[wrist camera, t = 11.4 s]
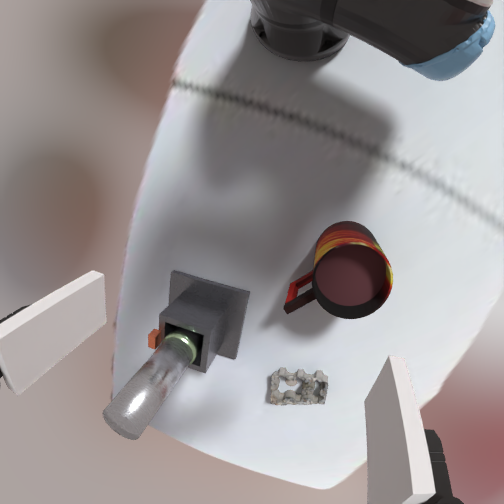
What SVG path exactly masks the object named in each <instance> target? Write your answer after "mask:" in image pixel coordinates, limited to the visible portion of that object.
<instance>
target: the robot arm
mask: <svg viewBox="0 0 504 504" xmlns="http://www.w3.org/2000/svg"><path fill="white" fill-rule="evenodd" d="M250 1H251V3H252V9H251V24H252V28H253V30H254V32H255V34H256V36H257V37H258V39H259V41H260V42H261V43H262V44H263V45H264V46H265V47H266V48H267V49H268V50H269V51H271V52H272V53H274V54H276V55H278V56H280V57H283V58H286V59H290V60H295V61H313V60H319V59H322V58H325V57H328V56H330V55H332V54H334V53H335V52H337V51H338V50H339V49H340V48H342V47H343V45H344V44H345V43H346V41H347V40H348V38H349V36H350V35H351V36H353V37H356V38H358V39H360V40H362V41H364V42H366V43H367V44H369V45H371V46H373V47H375V48H377V49H379V50H381V51H382V52H384V53H386V54H388V55H390V56H391V57H393V58H395V59H396V60H398V61H399V63H400V64H402V65H403V66H405V67H408V68H412V69H413V70H415V71H417V72H418V73H420V74H422V75H423V76H425V77H427V78H429V79H432V80H437V81H444V80H448V79H451V78H453V77H455V76H457V75H459V74H460V73H462V72H463V71H464V70H466V69H467V68H468V67H469V66H470V65H471V64H472V63H473V62H474V61H475V60H476V59H477V58H478V57H479V56H480V55H481V53H482V52H483V50H482V49H483V47H484V46H485V45H487V44H488V43H489V41H490V39H491V38H492V35H493V33H494V29H495V21H494V17H493V16H492V15H491V13H490V11H489V10H488V9H489V8H490V6H491V5H492V4H493V0H250ZM104 281H105V280H104V274H102V273H99V272H96V271H94V270H92V271H90V272H89V273H87V274H85V275H83V276H81V277H79V278H78V279H76V280H74V281H72V282H70V283H69V284H67V285H65V286H63V287H62V288H60V289H58V290H56V291H54V292H53V293H51V294H49V295H48V296H46V297H44V298H42V299H41V300H39V301H37V302H35V303H34V304H31V305H28V306H24V307H21V308H20V309H18V310H16V311H15V312H13V314H10V315H8V316H7V317H6V318H3V319H2V320H0V378H1V377H2V376H3V378H4V380H5V382H6V385H7V387H8V388H9V389H11V390H12V391H13V392H14V393H15V394H16V395H17V396H18V395H20V394H21V393H22V392H23V391H24V390H25V389H27V388H28V387H29V386H30V385H31V384H33V383H34V382H35V381H36V380H37V379H39V378H40V377H41V376H42V375H43V374H44V373H45V372H47V371H48V370H49V369H50V368H52V367H53V366H54V365H55V364H56V363H58V362H59V361H60V360H61V359H62V358H64V357H65V356H66V355H67V354H68V353H70V352H71V351H72V350H73V349H75V347H77V346H78V345H80V344H81V343H82V342H83V341H84V340H86V339H87V338H88V337H89V336H91V335H92V334H93V333H94V332H96V331H97V330H98V329H99V328H101V327H102V326H103V325H104V324H106V323H107V319H106V305H105V304H106V303H105V282H104ZM364 402H365V417H366V435H367V463H368V501H367V504H464V503H463V502H462V501H460V499H458V498H455V497H453V495H452V490H451V485H450V480H449V475H448V470H447V465H446V463H445V456H444V454H443V448H442V444H441V440H440V438H439V437H438V436H437V434H436V433H435V431H434V430H426V429H424V428H423V424H422V419H421V416H420V411H419V407H418V403H417V400H416V396H415V392H414V388H413V385H412V381H411V378H410V374H409V371H408V368H407V364H406V361H405V358H400V357H395V356H390V355H389V356H388V358H387V360H386V362H385V364H384V366H383V368H382V370H381V372H380V374H379V376H378V378H377V380H376V381H375V383H374V385H373V387H372V389H371V391H370V392H369V394H368V396H367V398H366V399H365V401H364Z"/></svg>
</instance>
